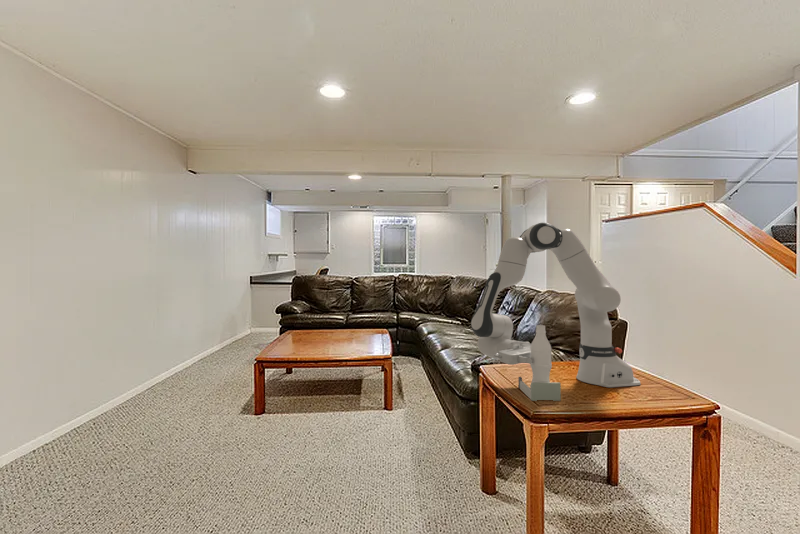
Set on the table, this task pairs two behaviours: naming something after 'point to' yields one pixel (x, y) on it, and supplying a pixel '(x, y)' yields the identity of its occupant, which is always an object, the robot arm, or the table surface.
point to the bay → (542, 390)
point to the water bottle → (540, 356)
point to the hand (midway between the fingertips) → (541, 359)
